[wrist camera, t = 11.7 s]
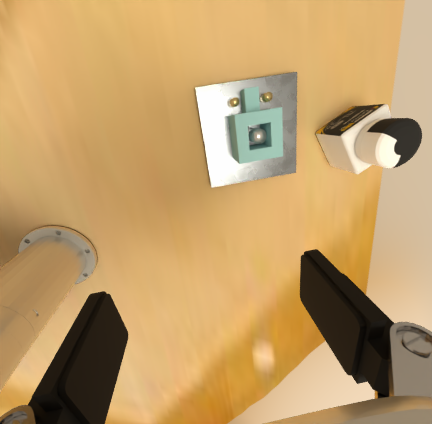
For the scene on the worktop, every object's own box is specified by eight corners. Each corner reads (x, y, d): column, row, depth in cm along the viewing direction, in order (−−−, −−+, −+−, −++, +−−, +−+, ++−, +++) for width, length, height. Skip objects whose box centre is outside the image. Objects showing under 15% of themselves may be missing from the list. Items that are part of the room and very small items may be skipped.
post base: (292, 170, 38) (309, 179, 33) (210, 185, 37) (214, 196, 32) (292, 73, 32) (313, 64, 27) (194, 88, 31) (196, 82, 26)
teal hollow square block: (270, 151, 35) (283, 156, 30) (232, 158, 35) (239, 164, 30) (268, 86, 31) (281, 80, 26) (225, 93, 31) (231, 88, 26)
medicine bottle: (351, 105, 35) (425, 99, 24) (364, 142, 38) (436, 151, 27) (314, 132, 36) (368, 138, 25) (329, 166, 39) (384, 184, 28)
